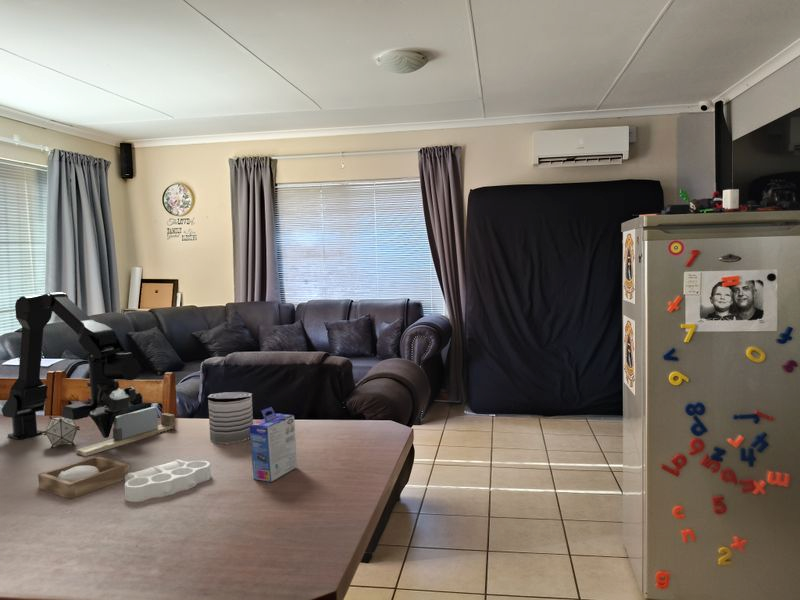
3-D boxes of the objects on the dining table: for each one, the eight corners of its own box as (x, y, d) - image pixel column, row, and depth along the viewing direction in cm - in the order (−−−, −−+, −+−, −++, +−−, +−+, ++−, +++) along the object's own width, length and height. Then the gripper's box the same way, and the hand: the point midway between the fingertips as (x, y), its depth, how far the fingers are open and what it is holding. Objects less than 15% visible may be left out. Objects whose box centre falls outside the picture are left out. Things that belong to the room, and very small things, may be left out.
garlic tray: (39, 488, 125) (38, 474, 125) (97, 468, 136) (96, 455, 136) (70, 499, 118) (69, 484, 118) (129, 477, 129) (128, 464, 129)
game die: (67, 460, 153) (64, 436, 147) (36, 450, 153) (32, 425, 147) (88, 435, 160) (86, 411, 154) (58, 424, 160) (56, 400, 154)
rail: (76, 453, 147) (75, 438, 146) (166, 426, 169) (165, 412, 168) (85, 456, 144) (84, 440, 144) (175, 428, 167) (174, 414, 166)
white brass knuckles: (190, 467, 136) (222, 482, 126) (109, 490, 123) (138, 510, 113) (189, 452, 136) (221, 467, 126) (108, 475, 123) (137, 493, 113)
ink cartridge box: (278, 464, 136) (275, 402, 135) (298, 467, 133) (295, 404, 132) (250, 479, 127) (247, 413, 126) (271, 483, 124) (268, 416, 123)
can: (200, 440, 155) (198, 395, 154) (233, 428, 165) (231, 386, 164) (230, 446, 149) (228, 400, 148) (262, 434, 159) (261, 390, 158)
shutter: (113, 439, 154) (112, 417, 154) (153, 427, 164) (152, 406, 164) (118, 440, 153) (117, 418, 152) (159, 428, 163) (157, 407, 163)
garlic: (55, 493, 122) (54, 476, 122) (60, 482, 128) (58, 465, 128) (98, 487, 125) (97, 469, 125) (100, 476, 131) (99, 460, 131)
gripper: (84, 388, 138) (88, 453, 139) (154, 374, 154) (157, 432, 155) (58, 383, 144) (62, 446, 145) (128, 370, 159) (132, 426, 161)
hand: (106, 437), depth 151 cm, fingers closed
